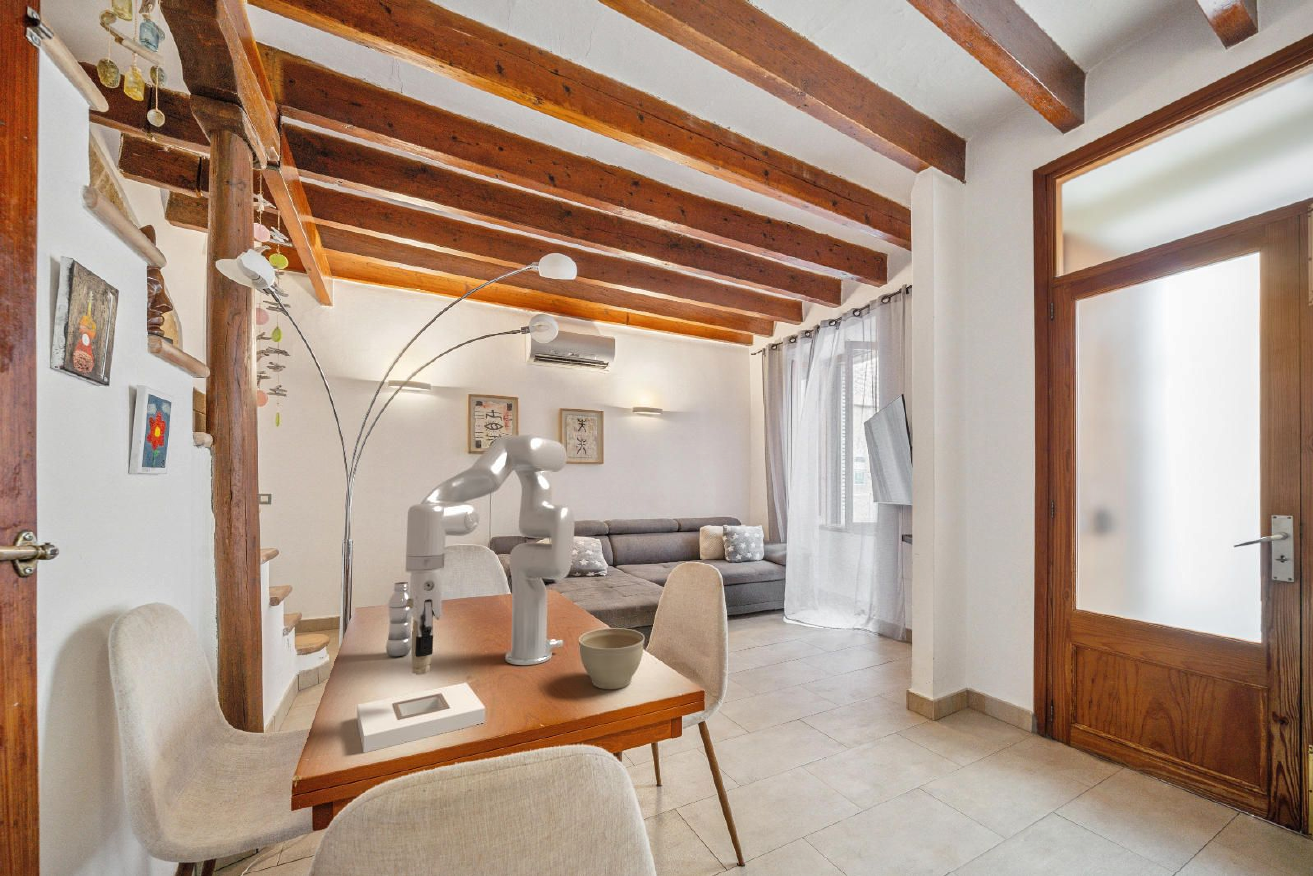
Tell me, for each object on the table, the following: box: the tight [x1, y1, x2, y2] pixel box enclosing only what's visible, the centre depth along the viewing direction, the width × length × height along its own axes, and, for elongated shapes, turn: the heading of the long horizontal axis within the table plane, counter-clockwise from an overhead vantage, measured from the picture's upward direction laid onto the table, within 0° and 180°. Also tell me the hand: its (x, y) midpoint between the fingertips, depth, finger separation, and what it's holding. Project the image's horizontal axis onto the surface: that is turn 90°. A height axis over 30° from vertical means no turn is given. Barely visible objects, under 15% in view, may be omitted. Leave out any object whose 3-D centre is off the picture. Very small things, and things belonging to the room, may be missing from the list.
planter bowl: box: [578, 627, 645, 690], centre depth 132 cm, size 16×16×11 cm
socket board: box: [356, 682, 486, 754], centre depth 111 cm, size 22×16×3 cm
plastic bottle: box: [385, 581, 412, 657], centre depth 152 cm, size 6×7×20 cm
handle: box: [407, 598, 433, 676], centre depth 112 cm, size 5×6×15 cm
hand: (421, 651), depth 112 cm, fingers closed on handle, 4 cm apart
